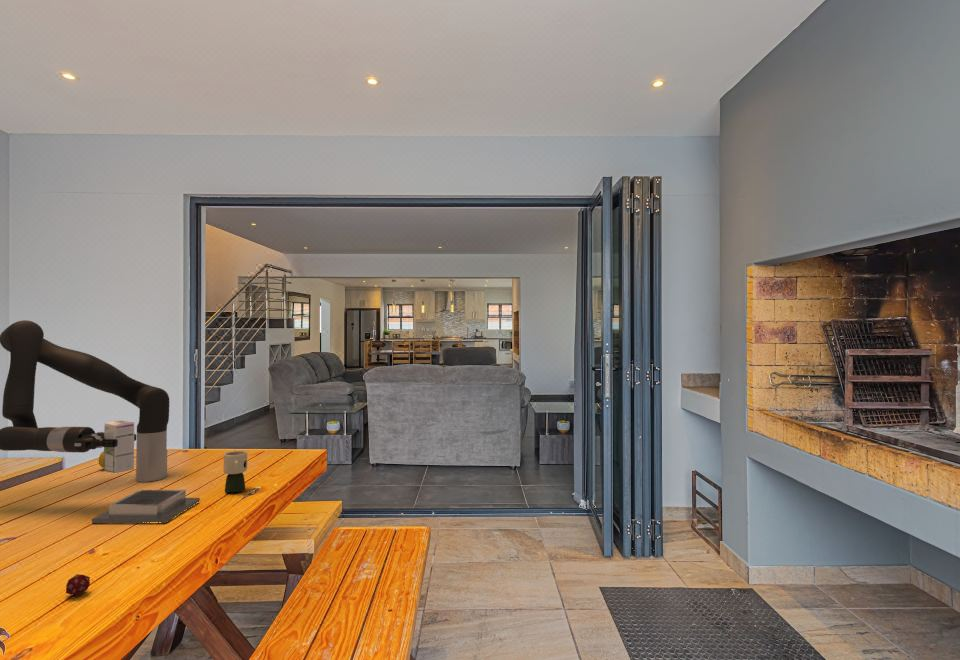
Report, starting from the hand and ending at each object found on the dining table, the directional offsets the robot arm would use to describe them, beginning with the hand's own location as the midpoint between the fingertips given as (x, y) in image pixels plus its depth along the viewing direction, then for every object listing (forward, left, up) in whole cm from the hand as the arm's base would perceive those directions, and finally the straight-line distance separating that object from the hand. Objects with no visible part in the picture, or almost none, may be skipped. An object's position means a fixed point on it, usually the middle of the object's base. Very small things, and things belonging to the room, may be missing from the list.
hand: (126, 440), depth 151 cm
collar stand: (+3, +9, -21) cm, 23 cm away
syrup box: (0, -2, -9) cm, 9 cm away
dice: (+50, +24, -21) cm, 59 cm away
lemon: (-44, -36, -21) cm, 61 cm away
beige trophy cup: (-17, +25, -21) cm, 37 cm away
